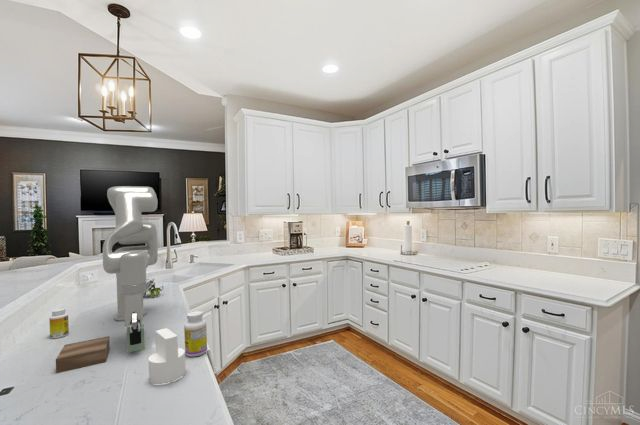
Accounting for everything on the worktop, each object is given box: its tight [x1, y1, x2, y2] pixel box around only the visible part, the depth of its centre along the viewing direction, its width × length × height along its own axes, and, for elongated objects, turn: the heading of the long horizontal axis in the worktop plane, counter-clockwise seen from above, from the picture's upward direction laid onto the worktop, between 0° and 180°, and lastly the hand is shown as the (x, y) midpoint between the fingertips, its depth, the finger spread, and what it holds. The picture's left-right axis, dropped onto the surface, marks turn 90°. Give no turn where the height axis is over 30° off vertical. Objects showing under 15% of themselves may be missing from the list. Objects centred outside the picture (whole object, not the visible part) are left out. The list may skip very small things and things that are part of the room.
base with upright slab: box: [148, 327, 186, 385], centre depth 85 cm, size 9×9×12 cm
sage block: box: [126, 323, 146, 354], centre depth 105 cm, size 5×5×7 cm
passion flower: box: [143, 278, 164, 299], centre depth 174 cm, size 11×11×12 cm
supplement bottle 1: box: [48, 307, 70, 339], centre depth 118 cm, size 6×6×10 cm
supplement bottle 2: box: [183, 310, 208, 358], centre depth 99 cm, size 7×7×13 cm
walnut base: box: [55, 335, 111, 374], centre depth 98 cm, size 12×12×4 cm
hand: (136, 339), depth 104 cm, fingers open, 9 cm apart
